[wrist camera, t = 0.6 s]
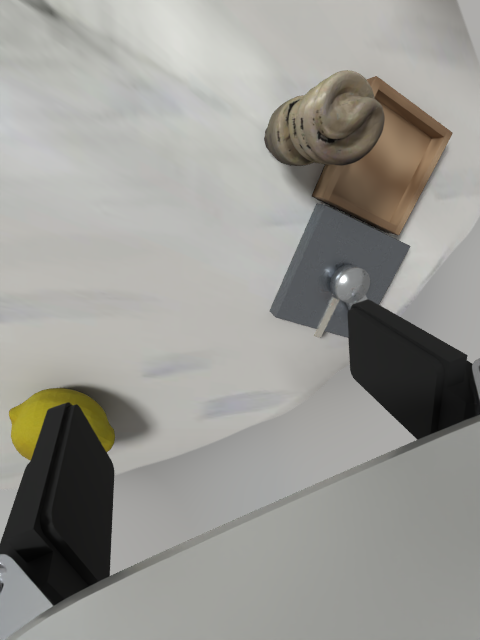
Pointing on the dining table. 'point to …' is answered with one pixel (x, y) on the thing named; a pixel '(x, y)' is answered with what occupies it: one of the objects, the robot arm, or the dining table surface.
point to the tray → (387, 165)
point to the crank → (350, 284)
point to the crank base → (334, 269)
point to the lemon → (34, 410)
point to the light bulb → (327, 123)
